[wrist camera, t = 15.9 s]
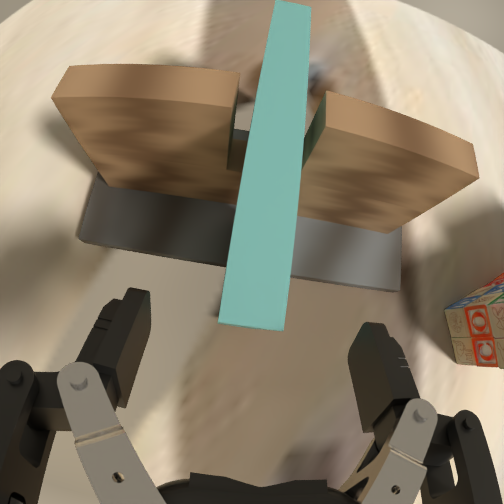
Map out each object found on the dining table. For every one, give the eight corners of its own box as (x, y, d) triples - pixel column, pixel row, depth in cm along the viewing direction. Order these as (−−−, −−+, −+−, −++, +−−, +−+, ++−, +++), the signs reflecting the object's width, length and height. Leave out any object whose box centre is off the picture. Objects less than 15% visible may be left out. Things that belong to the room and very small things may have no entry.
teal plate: (249, 328, 23) (283, 331, 12) (217, 323, 23) (218, 322, 11) (280, 106, 28) (310, 7, 16) (255, 102, 28) (275, -1, 16)
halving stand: (83, 242, 24) (-6, 176, 12) (122, 123, 27) (84, 19, 14) (392, 292, 26) (503, 263, 13) (393, 172, 29) (472, 96, 16)
